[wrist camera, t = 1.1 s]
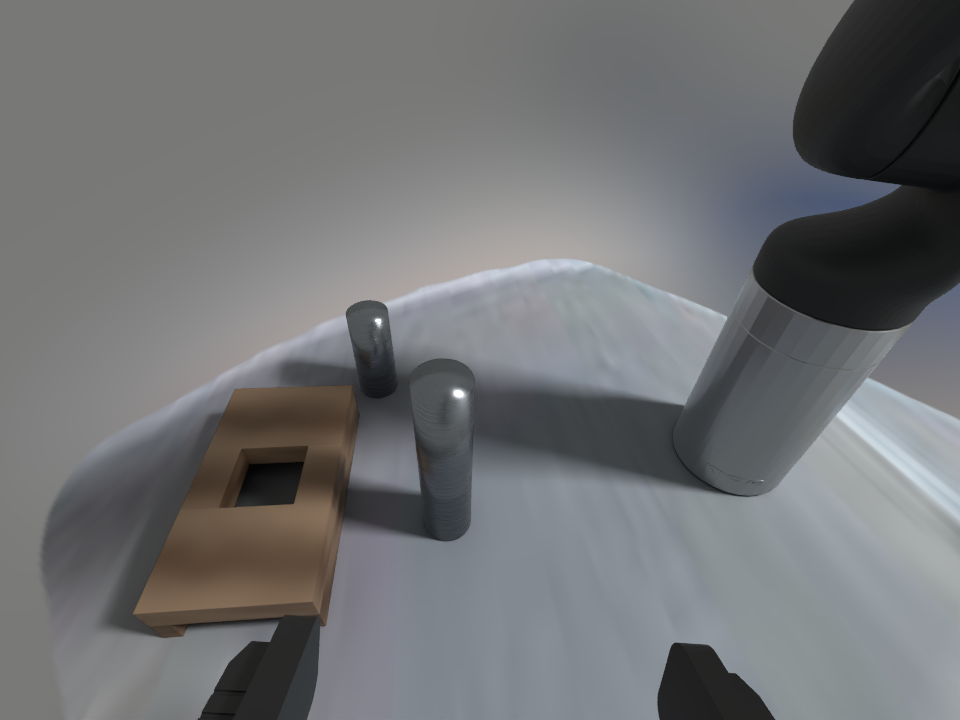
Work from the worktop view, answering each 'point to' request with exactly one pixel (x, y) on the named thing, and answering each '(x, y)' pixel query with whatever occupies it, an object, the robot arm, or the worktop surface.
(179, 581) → the plate
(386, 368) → the short pin
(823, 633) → the worktop surface
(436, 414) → the long pin
